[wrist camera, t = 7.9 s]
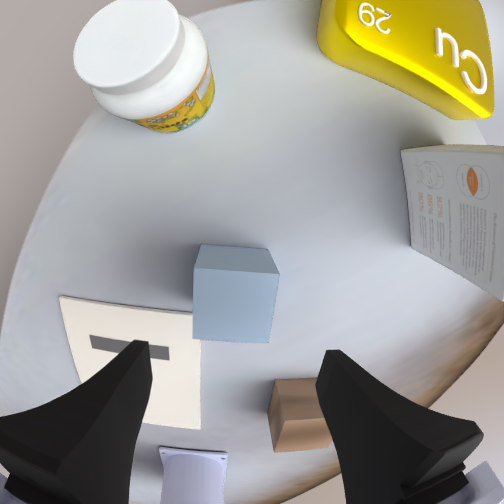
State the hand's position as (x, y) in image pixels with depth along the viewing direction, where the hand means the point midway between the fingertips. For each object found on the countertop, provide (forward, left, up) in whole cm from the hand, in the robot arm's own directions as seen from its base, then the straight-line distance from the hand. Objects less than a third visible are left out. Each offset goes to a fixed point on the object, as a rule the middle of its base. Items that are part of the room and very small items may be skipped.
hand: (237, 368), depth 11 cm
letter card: (-10, +8, -9) cm, 16 cm away
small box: (+8, -15, -10) cm, 20 cm away
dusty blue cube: (0, 0, -10) cm, 10 cm away
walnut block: (-12, -7, -10) cm, 17 cm away
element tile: (+23, -12, -10) cm, 28 cm away
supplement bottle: (+12, +5, -10) cm, 16 cm away
